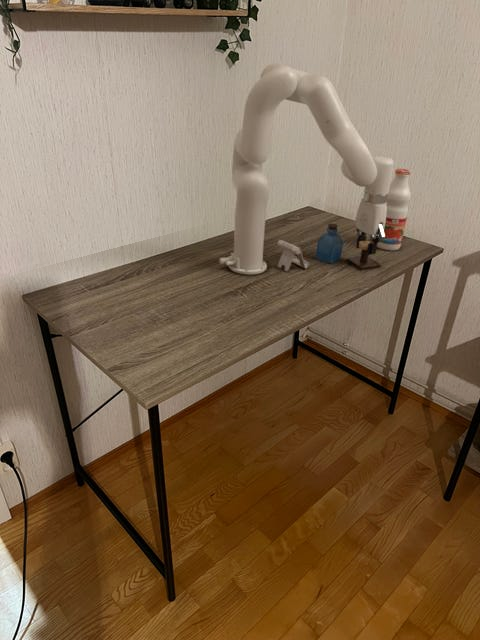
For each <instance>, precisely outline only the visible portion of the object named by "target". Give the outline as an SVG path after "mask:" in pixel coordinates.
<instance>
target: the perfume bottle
mask: <svg viewBox="0 0 480 640" xmlns="http://www.w3.org/2000/svg"><path fill="white" fill-rule="evenodd" d="M338 226H339V225H338V224H336V223H327V228H326V233H323V234H322V235H321V237H320V238H319V239H318V240H317V243H316V244H317V245H316V252H315V259H318V260H319V261H323V262H325V263H327V264H332V263H335V262H337V261H339V260H341V259H342V253H343V248H344V241H343V238H342V236H341V235H340V234H338Z"/></svg>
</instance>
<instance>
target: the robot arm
mask: <svg viewBox="0 0 480 640" xmlns="http://www.w3.org/2000/svg"><path fill="white" fill-rule="evenodd" d="M284 100H287V101H289V102H295V103H298V104H302V105H306V106H307V108H308V109H309V111H310V113H311V115H312V116H313V119H314V121H315V122H316V124H317V126H318V129H319V131H320V132H321V134H322V136H323V138H324V139H325V140H326V141H327V143H328V145H330V146H331V147H332V148H333V149H334V150H335V152H337V154H338V155H339V157H340V158H341V159H342V161H341V165H340V169H341V173H342V175H343V176H344V177H346V179H347V180H349V181H350V182H352V183H353V184H355V185H356V186H358V187H361V188H362V187H363V188H364V190H363V196H362V198H361V200H360V201H359V204H358V208H357V212H356V216H355V221H354V227H355V229H356V232H357V233H356V236H357V240H356V246H355V247H356V249H360V248H359V247H358V246H359V242H360V241H367V235H368V236H369V241H370V243H369V244H368V249H367V254H368V255H369V256H371V255H375V254H376V253H377V248H378V247H377V243H379V242H380V241H381V240H382V239H384V238H385V234H384V228H385V222H386V213H387V204H386V203H387V198H388V193H389V188H390V184H391V183H392V177H393V172H394V167H395V162H394V160H393V158H391V157H388V156H382V155H381V156H379V155H378V156H372V154H371V151H370V150H369V148H368V146H367V144H366V143H365V142H364V140H363V138H362V137H361V135H360V134H359V132H358V130H357V129H356V127H355V126H354V124H353V123H352V121H351V119H350V117H349V115H348V114H347V111H346V110H345V107H344V105H343V103H342V101H341V99H340V97H339V95H338V93H337V91H336V88H335V86H334V85H333V83H332V82H331V80H330V79H329V78H328V77H326V76H324V75H321V74H317V73H312V72H307V71H303V70H300V69H296V68H292V67H290V66H289V65H286V64H280V63H270V64H268V65H266V67H264V68H263V70H262V71H261V74H260V76H259V79H258V80H257V81H256V82H255V83H254V84H253V86H252V87H251V89H250V91H249V92H248V95H247V98H246V101H245V104H244V111H243V117H242V118H243V119H242V126H241V127H242V128H240V129H239V131H238V132H237V133H236V135H235V138H234V142H233V149H232V151H233V153H232V163H231V164H232V166H231V180H232V184H233V186H234V189H235V191H236V199H235V207H234V208H235V209H234V210H235V211H234V231H233V232H234V233H233V234H234V236H233V252H230V255H228V256H227V257H220V258H219V259H218V261H219V264H220V265H224V264H225V265H226V267H228V268H229V270H230V271H232V272H234V273H236V274H240V275H246V276H247V275H249V276H251V275H253V276H254V275H259V274H261V273H264V272H265V271H266V270H267V268H268V264H267V263H266V261H265V260H263V259H264V245H265V230H266V217H267V216H266V215H267V206H268V200H269V195H270V182H269V181H268V178H267V176H266V175H265V173H264V172H263V171H262V170H263V164H264V163H265V162H266V161H267V160H268V158H269V156H270V153H271V149H272V148H271V147H272V133H273V126H274V125H273V124H274V120H275V119H274V118H275V114H276V110H277V108H278V106H279V105H280V104H281V103H282V102H283V101H284Z"/></svg>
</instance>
